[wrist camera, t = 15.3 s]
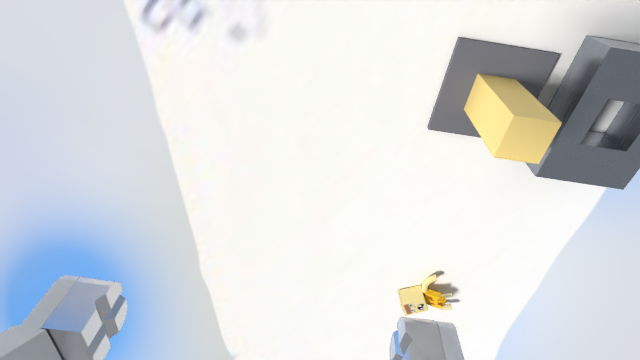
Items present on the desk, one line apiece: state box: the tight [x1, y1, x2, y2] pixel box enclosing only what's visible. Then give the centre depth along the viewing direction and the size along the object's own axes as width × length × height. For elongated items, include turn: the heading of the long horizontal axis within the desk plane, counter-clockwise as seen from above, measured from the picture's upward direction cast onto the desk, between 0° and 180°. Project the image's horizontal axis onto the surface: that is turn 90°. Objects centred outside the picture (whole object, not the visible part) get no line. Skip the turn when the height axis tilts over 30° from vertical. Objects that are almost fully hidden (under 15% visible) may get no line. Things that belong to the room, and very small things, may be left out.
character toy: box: [398, 274, 452, 315], centre depth 57 cm, size 8×3×8 cm
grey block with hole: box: [525, 36, 640, 189], centre depth 38 cm, size 14×10×4 cm
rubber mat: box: [428, 37, 559, 137], centre depth 39 cm, size 10×10×1 cm
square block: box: [464, 74, 562, 164], centre depth 35 cm, size 4×4×10 cm
